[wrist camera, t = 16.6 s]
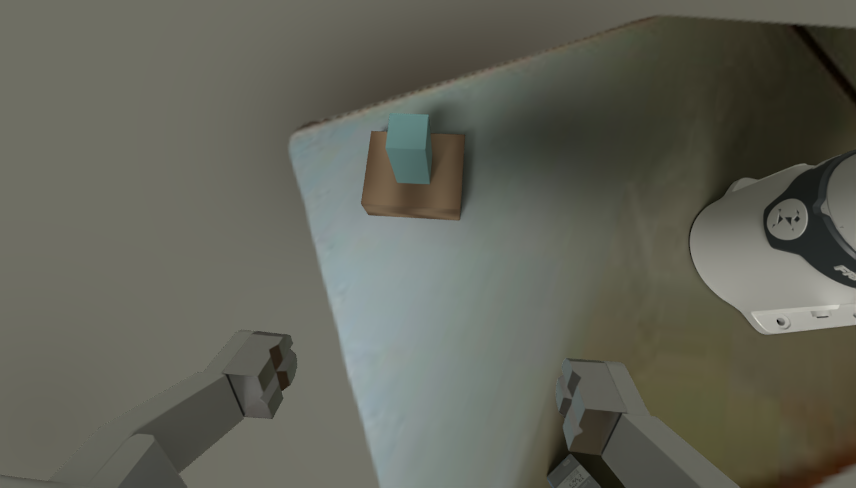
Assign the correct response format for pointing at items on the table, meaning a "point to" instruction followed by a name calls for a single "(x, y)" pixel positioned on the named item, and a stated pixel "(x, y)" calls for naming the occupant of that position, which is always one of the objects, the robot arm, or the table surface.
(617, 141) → the table surface
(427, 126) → the teal column
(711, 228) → the robot arm
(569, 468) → the label tape box
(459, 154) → the walnut block
